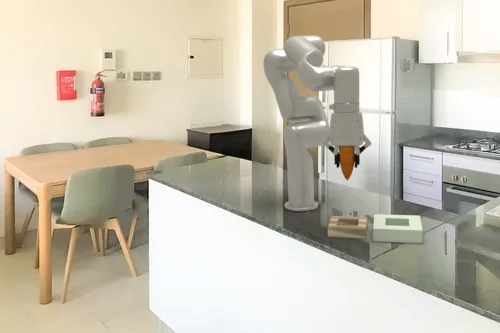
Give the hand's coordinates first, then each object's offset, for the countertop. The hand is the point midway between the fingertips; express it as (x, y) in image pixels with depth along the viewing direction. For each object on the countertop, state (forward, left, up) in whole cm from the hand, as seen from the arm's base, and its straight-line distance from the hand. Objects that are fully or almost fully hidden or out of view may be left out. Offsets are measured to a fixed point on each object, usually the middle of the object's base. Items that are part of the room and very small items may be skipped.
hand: (347, 166), depth 159 cm
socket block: (0, 0, -21) cm, 21 cm away
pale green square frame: (+1, +15, -21) cm, 26 cm away
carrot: (0, 0, -5) cm, 5 cm away
